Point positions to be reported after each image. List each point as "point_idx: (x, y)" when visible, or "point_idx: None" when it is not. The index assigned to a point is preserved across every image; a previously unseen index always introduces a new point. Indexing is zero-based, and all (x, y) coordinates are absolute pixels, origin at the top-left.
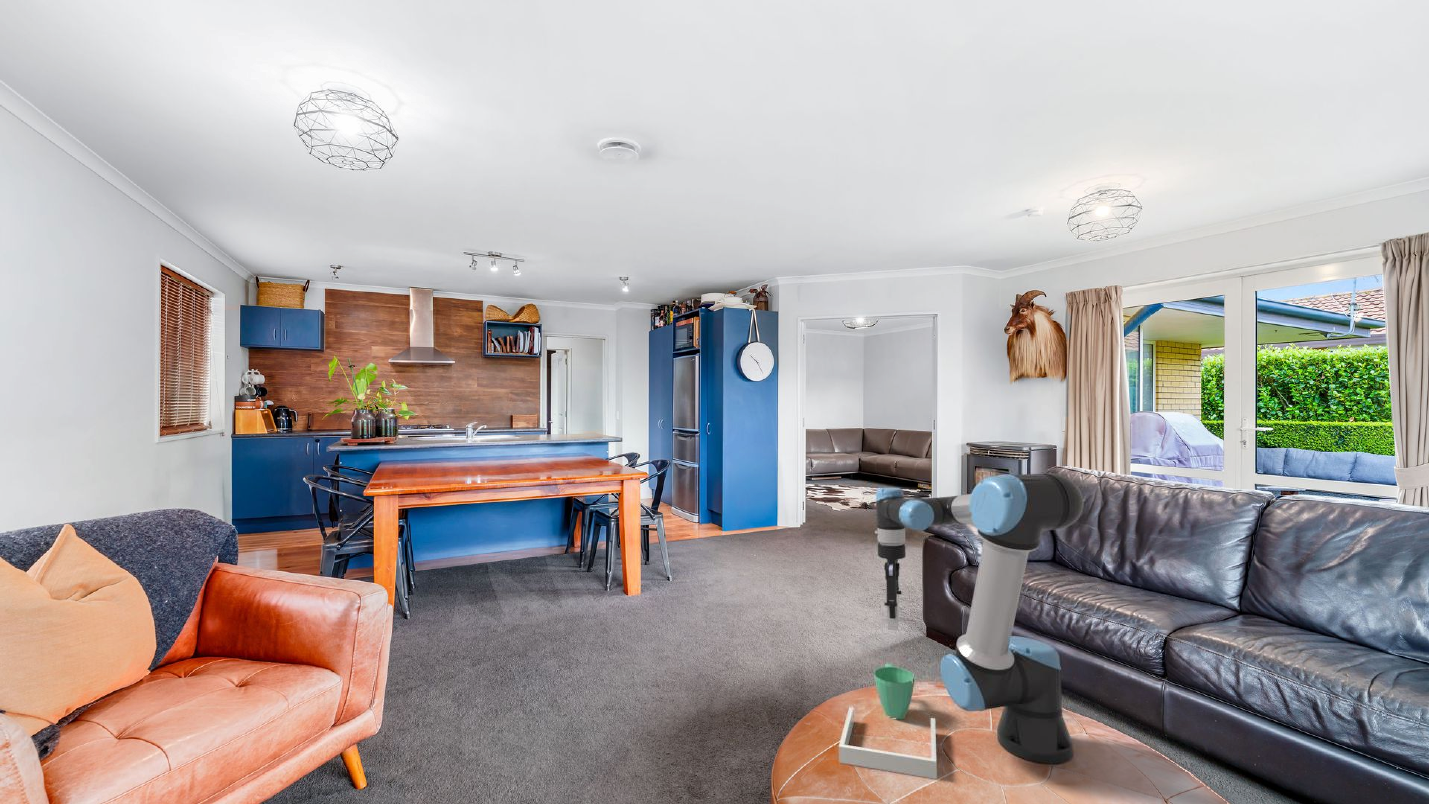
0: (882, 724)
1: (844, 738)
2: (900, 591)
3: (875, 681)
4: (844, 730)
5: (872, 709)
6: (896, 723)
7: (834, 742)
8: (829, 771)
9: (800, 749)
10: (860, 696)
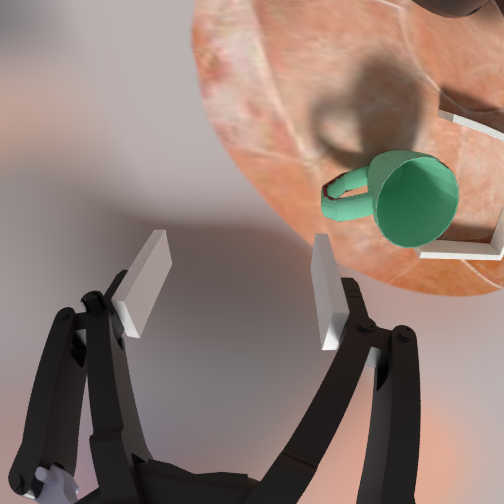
0: None
1: (490, 256)
2: (84, 303)
3: (413, 237)
4: (476, 257)
5: None
6: None
7: None
8: None
9: (463, 288)
10: (318, 233)
